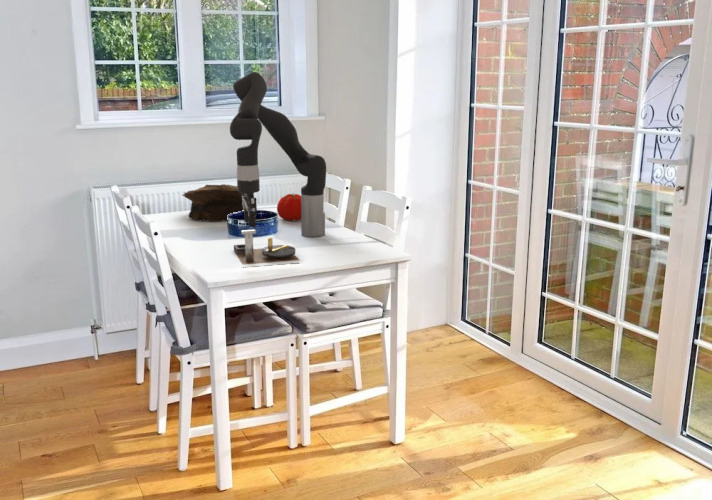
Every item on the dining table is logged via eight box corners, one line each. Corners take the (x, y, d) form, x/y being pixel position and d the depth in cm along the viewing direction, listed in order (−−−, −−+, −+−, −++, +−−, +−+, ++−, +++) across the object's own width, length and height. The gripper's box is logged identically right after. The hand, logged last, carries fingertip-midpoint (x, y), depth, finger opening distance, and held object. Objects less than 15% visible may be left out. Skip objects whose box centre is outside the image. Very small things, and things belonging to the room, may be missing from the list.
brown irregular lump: (174, 225, 316) (170, 192, 314) (197, 214, 349) (194, 184, 346) (249, 221, 313) (246, 187, 310) (265, 210, 345) (262, 180, 342)
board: (287, 249, 270) (287, 241, 269) (299, 263, 251) (299, 254, 250) (233, 253, 263) (233, 244, 262) (242, 267, 245) (242, 258, 244)
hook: (255, 259, 251) (254, 229, 248) (257, 261, 248) (256, 230, 246) (242, 260, 249) (240, 230, 247) (243, 262, 247) (242, 231, 244)
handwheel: (255, 254, 252) (254, 236, 251) (274, 247, 263) (274, 230, 261) (282, 259, 247) (282, 241, 245) (301, 251, 257) (301, 234, 255)
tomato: (280, 216, 330) (280, 191, 327) (310, 217, 328) (310, 192, 325) (273, 222, 317) (273, 196, 314) (304, 223, 315) (304, 197, 312)
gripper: (233, 175, 247) (235, 220, 251) (240, 181, 234) (242, 229, 238) (255, 174, 249) (256, 219, 253) (263, 180, 236) (264, 227, 240)
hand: (250, 224), depth 245 cm, fingers open, 8 cm apart
